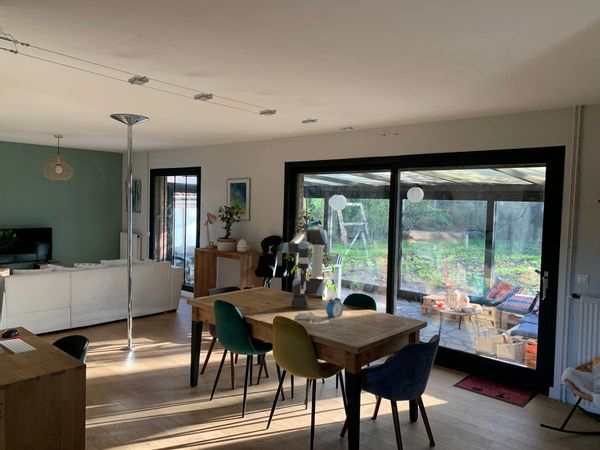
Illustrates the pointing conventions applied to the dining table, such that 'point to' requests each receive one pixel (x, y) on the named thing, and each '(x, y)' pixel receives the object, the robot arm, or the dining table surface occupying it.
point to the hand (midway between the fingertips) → (303, 292)
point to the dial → (310, 316)
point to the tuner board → (318, 320)
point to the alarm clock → (334, 307)
